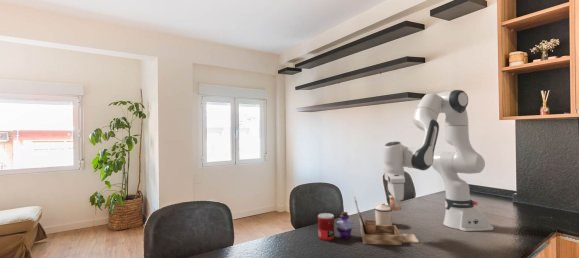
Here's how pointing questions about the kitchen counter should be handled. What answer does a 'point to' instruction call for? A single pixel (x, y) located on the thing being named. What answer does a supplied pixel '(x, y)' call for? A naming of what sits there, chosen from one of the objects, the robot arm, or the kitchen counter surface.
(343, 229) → the potion bottle
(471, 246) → the kitchen counter surface
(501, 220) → the kitchen counter surface
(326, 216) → the canned food
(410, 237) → the cork mat
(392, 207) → the pot near
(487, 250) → the kitchen counter surface
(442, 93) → the robot arm
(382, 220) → the teacup with lid
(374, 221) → the pot far
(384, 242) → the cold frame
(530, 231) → the kitchen counter surface
